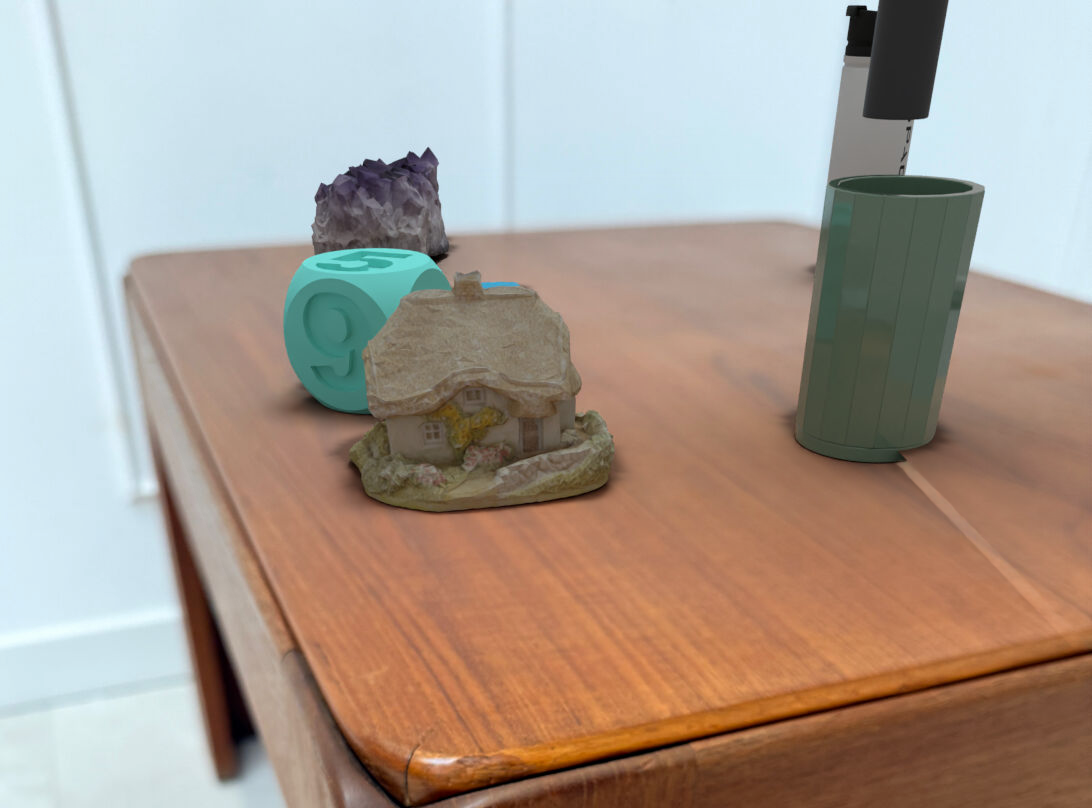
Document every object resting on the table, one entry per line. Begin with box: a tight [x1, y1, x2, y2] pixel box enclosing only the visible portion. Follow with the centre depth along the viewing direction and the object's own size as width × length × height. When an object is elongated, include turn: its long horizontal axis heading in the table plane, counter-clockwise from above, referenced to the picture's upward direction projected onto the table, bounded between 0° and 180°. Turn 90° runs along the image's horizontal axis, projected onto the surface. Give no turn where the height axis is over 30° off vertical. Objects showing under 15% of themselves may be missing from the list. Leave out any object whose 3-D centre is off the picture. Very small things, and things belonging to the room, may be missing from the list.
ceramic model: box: [347, 269, 616, 513], centre depth 56 cm, size 14×11×10 cm
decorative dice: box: [282, 248, 453, 415], centre depth 68 cm, size 8×8×8 cm
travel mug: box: [826, 4, 915, 185], centre depth 91 cm, size 6×7×20 cm
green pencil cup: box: [794, 174, 986, 464], centre depth 58 cm, size 8×8×13 cm
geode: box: [310, 146, 450, 257], centre depth 102 cm, size 20×12×10 cm, turn 172°
